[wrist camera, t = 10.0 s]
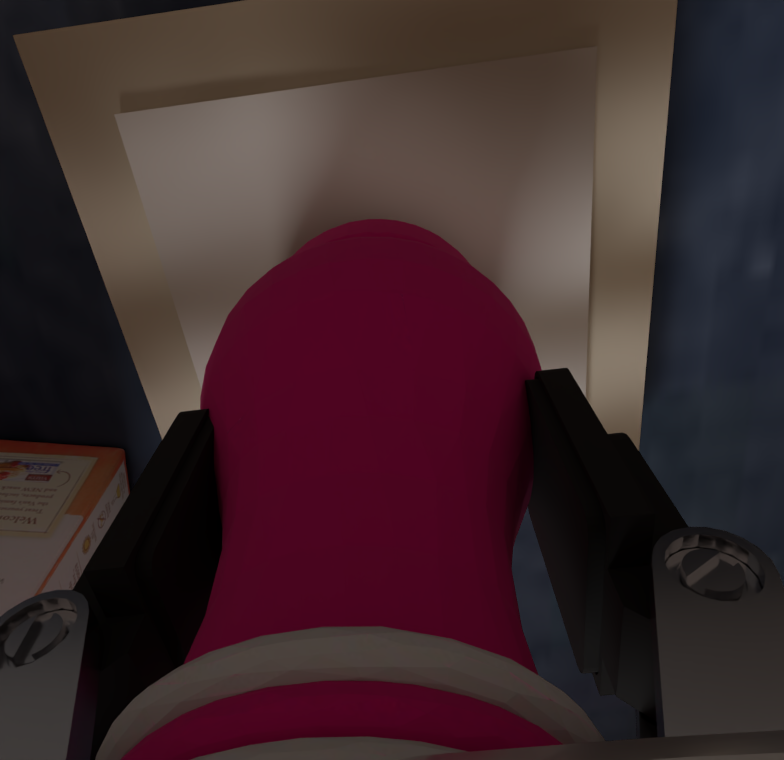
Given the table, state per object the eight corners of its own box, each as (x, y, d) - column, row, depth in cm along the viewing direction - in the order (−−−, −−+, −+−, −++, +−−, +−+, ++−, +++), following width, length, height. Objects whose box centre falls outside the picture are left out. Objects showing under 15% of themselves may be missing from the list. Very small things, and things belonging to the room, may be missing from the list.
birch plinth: (607, 439, 24) (640, 494, 21) (217, 481, 24) (193, 540, 22) (634, -45, 16) (691, -70, 13) (70, 39, 17) (3, 34, 14)
